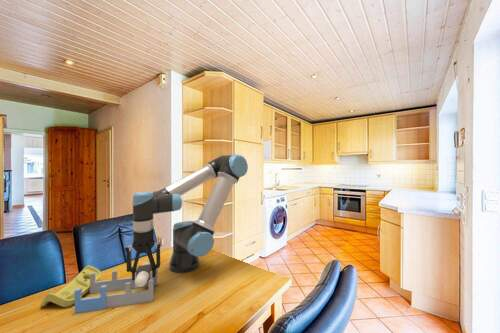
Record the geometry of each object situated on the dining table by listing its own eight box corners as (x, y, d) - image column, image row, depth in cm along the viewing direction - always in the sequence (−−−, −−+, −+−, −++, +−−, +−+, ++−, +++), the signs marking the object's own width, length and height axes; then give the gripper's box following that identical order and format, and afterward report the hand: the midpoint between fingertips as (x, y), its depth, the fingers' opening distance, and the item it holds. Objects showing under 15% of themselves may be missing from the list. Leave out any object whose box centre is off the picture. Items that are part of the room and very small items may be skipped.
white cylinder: (141, 271, 97) (141, 260, 97) (153, 269, 98) (153, 258, 98) (132, 291, 82) (132, 278, 82) (147, 289, 83) (146, 276, 83)
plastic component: (71, 302, 80) (45, 291, 79) (63, 319, 80) (37, 308, 80) (105, 272, 100) (85, 263, 99) (99, 286, 100) (78, 277, 100)
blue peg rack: (157, 284, 97) (157, 266, 97) (152, 301, 84) (152, 281, 84) (90, 292, 90) (91, 273, 90) (74, 313, 77) (74, 290, 77)
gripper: (167, 225, 96) (168, 278, 96) (121, 229, 91) (122, 284, 91) (165, 230, 89) (166, 287, 89) (115, 234, 84) (116, 295, 84)
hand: (144, 286), depth 90 cm, fingers closed on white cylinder, 5 cm apart
